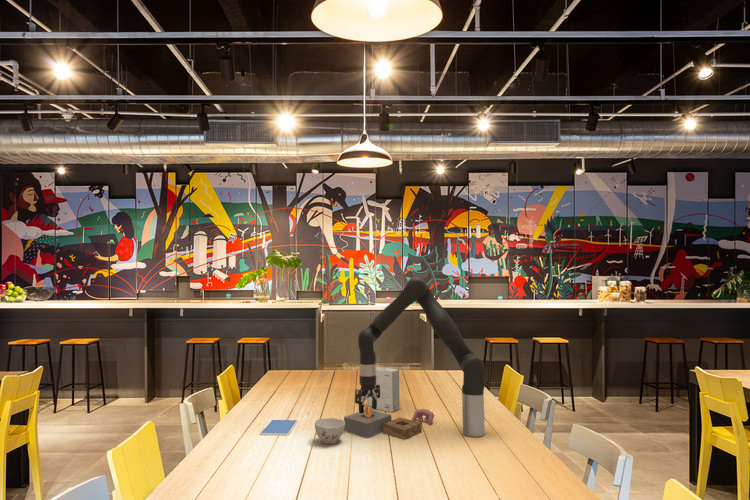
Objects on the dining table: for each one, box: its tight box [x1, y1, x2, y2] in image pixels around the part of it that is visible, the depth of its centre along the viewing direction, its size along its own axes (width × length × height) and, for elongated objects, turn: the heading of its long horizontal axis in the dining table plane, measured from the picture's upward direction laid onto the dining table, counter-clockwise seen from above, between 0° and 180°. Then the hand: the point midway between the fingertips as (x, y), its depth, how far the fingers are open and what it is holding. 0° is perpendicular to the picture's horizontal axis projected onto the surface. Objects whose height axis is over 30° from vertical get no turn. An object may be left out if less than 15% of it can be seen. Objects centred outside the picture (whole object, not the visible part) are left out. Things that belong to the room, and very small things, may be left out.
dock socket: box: [343, 409, 392, 439], centre depth 196 cm, size 16×14×6 cm
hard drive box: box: [367, 366, 401, 413], centre depth 229 cm, size 16×8×20 cm, turn 58°
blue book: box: [259, 419, 299, 437], centre depth 199 cm, size 19×13×1 cm, turn 177°
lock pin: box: [364, 405, 372, 418], centre depth 196 cm, size 3×3×10 cm
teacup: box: [314, 417, 345, 445], centre depth 183 cm, size 15×12×8 cm
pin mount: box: [382, 416, 423, 440], centre depth 192 cm, size 12×12×4 cm
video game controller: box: [411, 408, 435, 426], centre depth 206 cm, size 10×5×7 cm, turn 60°
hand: (367, 410), depth 196 cm, fingers open, 8 cm apart
